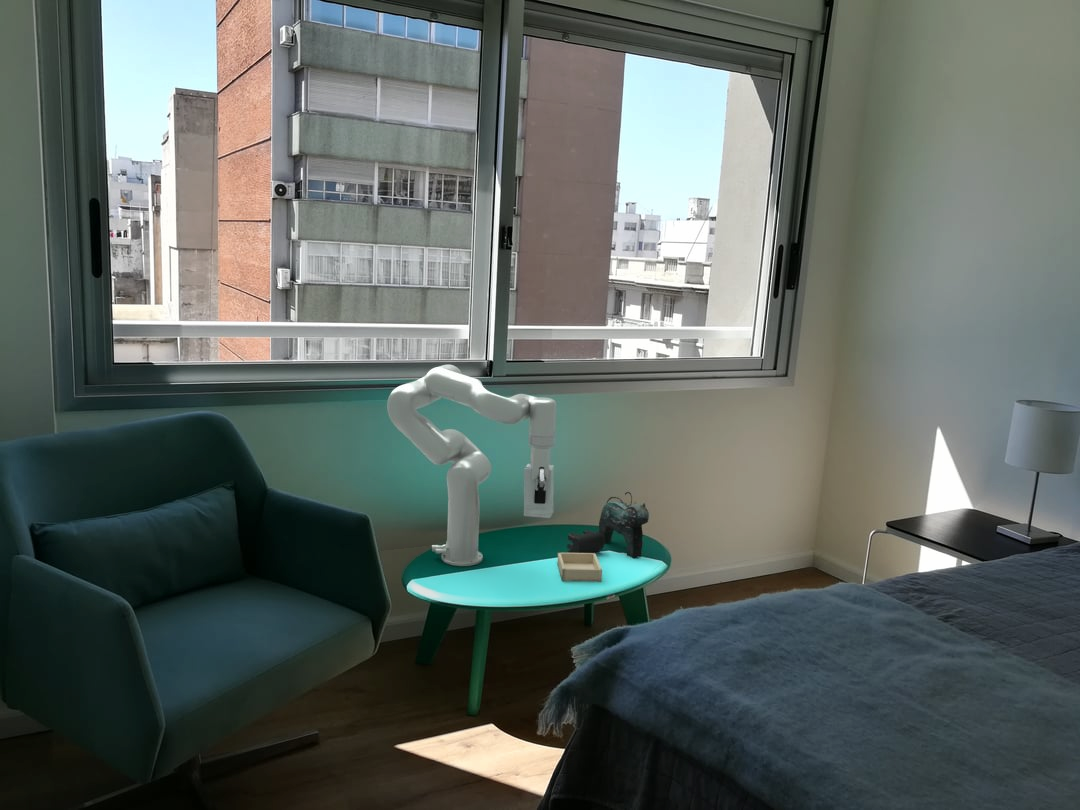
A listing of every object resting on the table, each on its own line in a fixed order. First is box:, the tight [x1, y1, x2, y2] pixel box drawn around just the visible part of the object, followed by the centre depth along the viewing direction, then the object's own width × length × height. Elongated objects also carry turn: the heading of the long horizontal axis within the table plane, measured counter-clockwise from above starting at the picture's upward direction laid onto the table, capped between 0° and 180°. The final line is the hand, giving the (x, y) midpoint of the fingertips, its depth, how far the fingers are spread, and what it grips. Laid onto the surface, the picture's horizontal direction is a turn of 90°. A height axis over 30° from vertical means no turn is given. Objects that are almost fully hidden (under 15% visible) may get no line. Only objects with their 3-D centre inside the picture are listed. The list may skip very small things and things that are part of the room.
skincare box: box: [523, 463, 555, 519], centre depth 251 cm, size 8×6×15 cm
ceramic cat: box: [598, 491, 650, 559], centre depth 277 cm, size 20×6×20 cm, turn 35°
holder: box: [556, 552, 603, 583], centre depth 257 cm, size 12×14×4 cm
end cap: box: [566, 529, 605, 554], centre depth 273 cm, size 10×7×7 cm
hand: (538, 499), depth 252 cm, fingers closed on skincare box, 6 cm apart
